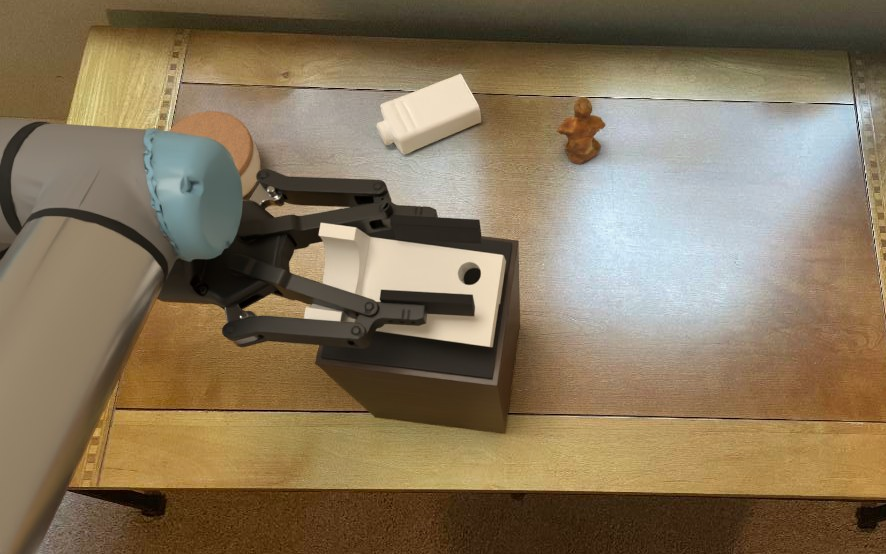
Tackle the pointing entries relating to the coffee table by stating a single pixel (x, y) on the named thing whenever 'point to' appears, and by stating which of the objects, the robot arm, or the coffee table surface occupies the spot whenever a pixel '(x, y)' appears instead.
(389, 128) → the white bottle
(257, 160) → the trinket box
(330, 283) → the bracket
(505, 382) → the walnut stand
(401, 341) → the black pad
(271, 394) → the coffee table surface
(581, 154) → the figurine
